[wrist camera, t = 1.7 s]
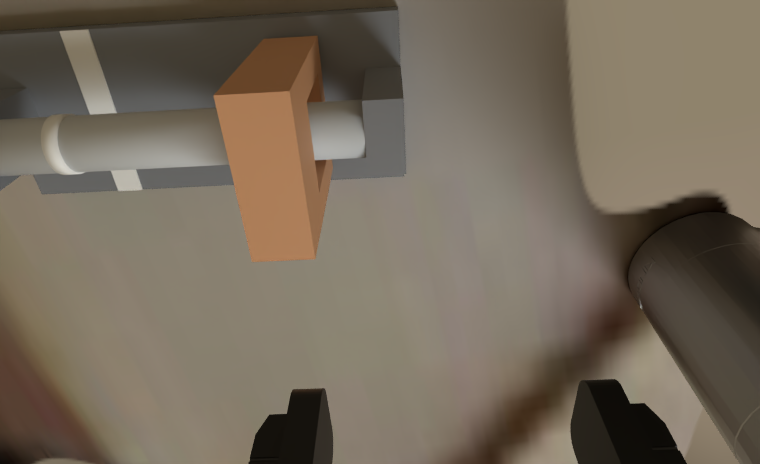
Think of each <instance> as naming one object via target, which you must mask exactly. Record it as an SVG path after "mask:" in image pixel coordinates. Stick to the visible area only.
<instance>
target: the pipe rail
mask: <svg viewBox="0 0 760 464" xmlns="http://www.w3.org/2000/svg"><path fill="white" fill-rule="evenodd" d="M303 36H318V44H319V53H320V61H321V70H322V78H323V87H324V95H325V102H308V103H307V107H308V115H309V122H310V129H311V137H312V144H313V151H314V159H315V160H330V159H332V164H333V170H332V175H331V180H340V179H360V178H380V177H400V176H404V174H406V156H405V127H404V99H403V88H402V78H401V68H400V43H399V16H398V7H381V8H365V9H349V10H333V11H317V12H300V13H284V14H268V15H252V16H236V17H219V18H203V19H187V20H171V21H155V22H138V23H122V24H106V25H90V26H74V27H57V28H41V29H25V30H9V31H0V191H1V190H2V189H3V188H5V187H6V186H7V185H9V184H10V183H11V182H13V181H14V180H15V179H17V178H18V177H19V176H21V175H33V176H34V178H35V180H36V182H37V184H38V187H39V189H40V191H41V193H42V194H57V193H77V192H98V191H131V190H143V189H158V188H178V187H198V186H219V185H234V182H233V178H232V173H231V169H230V165H229V160H228V156H227V152H226V148H225V143H224V139H223V135H222V130H221V126H220V122H219V118H218V113H217V109H216V105H215V100H214V96H213V95H214V94H215V93H216V92H217V91H218V90H219V89H220V87H221V86H222V85H223V84H224V83H225V82H226V81H227V80H228V78H229V77H230V76H231V75H232V74H233V73H234V72H235V70H236V69H237V68H238V67H239V66H240V65H241V64H242V63H243V61H244V60H245V59H246V58H247V57H248V56H249V55H250V54H251V52H252V51H253V50H254V49H255V48H256V47H257V46H258V45H259V43H260V42H261V41H262V40H263V39H270V38H286V37H303Z"/></svg>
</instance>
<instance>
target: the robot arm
mask: <svg viewBox="0 0 760 464" xmlns="http://www.w3.org/2000/svg"><path fill="white" fill-rule="evenodd" d="M628 282H629V288H630V290H631V292H632V294H633V296H634V298H635V299H636V301H637V302H638V305H639V306H640V308H641V309H642V310H643V312H644V313H645V315H646V317H647V318H648V320H649V321H650V323H651V324H652V326H653V328H654V330H655V331H656V333H657V334H658V336H659V338H660V339H661V341H662V342H663V344H664V345H665V347H666V349H667V350H668V352H669V353H670V355H671V356H672V358H673V360H674V361H675V363H676V364H677V366H678V368H679V369H680V371H681V372H682V374H683V375H684V377H685V379H686V380H687V382H688V383H689V385H690V386H691V388H692V390H693V391H694V393H695V394H696V396H697V397H698V399H699V401H700V402H701V404H702V405H703V407H704V409H705V410H706V412H707V413H708V415H709V416H710V418H711V420H712V421H713V423H714V424H715V426H716V427H717V429H718V431H719V432H720V434H721V435H722V437H723V438H724V440H725V442H726V443H727V445H728V446H729V448H730V450H731V451H732V452H733V454H734V456H735V457H736V459H737V460H738V462H739V463H740V464H760V228H755V227H753V226H751V225H750V224H748V223H747V222H746V221H744V220H743V219H741V218H739V217H736V216H734V215H731V214H726V213H720V212H709V213H699V214H695V215H690V216H686V217H684V218H681V219H678V220H676V221H673V222H672V223H670V224H668V225H666V226H664V227H663V228H661V229H659V230H658V231H657V232H656V233H654V234H653V235H652V236H650V237H649V238H648V239H647V240H646V241H645V242H644V243H643V245H642V246H641V247H640V248H639V250H638V251H637V253H636V254H635V256H634V257H633V259H632V262H631V265H630V267H629V274H628ZM571 440H572V445H573V449H574V452H575V455H576V458H577V461H578V464H687V463H686V461H685V460H684V458H683V456H682V454H681V452H680V451H678V449H677V445H676V443H675V441H674V439H673V437H672V435H671V434H670V432H669V430H668V428H667V426H666V424H665V423H664V422H663V421H662V420H661V419H660V418H659V417H658V416H657V415H656V414H655V413H654V412H653V411H652V410H651V409H650V408H649V407H648V406H647V405H646V404H645V403H639V404H630V402H629V400H628V398H627V396H626V394H625V392H624V390H623V388H622V386H621V384H620V383H619V382H618V381H617V380H615V379H608V380H582V381H580V383H579V386H578V391H577V396H576V400H575V405H574V410H573V415H572V419H571ZM332 459H333V432H332V425H331V419H330V413H329V407H328V401H327V395H326V391H325V389H324V388H322V389H294V390H292V392H291V396H290V401H289V406H288V411H287V414H274V415H269V416H268V417H267V419H266V420H265V422H264V423H263V425H262V426H261V428H260V429H259V430H258V432H257V433H256V435H255V439H254V443H253V447H252V451H251V455H250V462H249V464H332Z"/></svg>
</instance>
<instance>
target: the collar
mask: <svg viewBox="0 0 760 464" xmlns="http://www.w3.org/2000/svg"><path fill="white" fill-rule="evenodd" d="M213 96H214V100H215V105H216V109H217V113H218V118H219V122H220V126H221V130H222V135H223V139H224V143H225V148H226V152H227V156H228V160H229V165H230V169H231V173H232V178H233V182H234V186H235V190H236V195H237V199H238V203H239V208H240V212H241V216H242V220H243V225H244V229H245V233H246V238H247V242H248V246H249V250H250V255H251V259H252V262H262V261H284V260H307V259H315V258H316V253H317V247H318V242H319V237H320V232H321V227H322V222H323V217H324V211H325V206H326V201H327V196H328V191H329V186H330V180H331V175H332V170H333V164H332V159H330V160H315V159H314V151H313V144H312V137H311V129H310V122H309V115H308V107H307V103H308V102H325V95H324V87H323V78H322V70H321V61H320V53H319V44H318V36H303V37H286V38H270V39H263V40H262V41H261V42H260V43H259V45H258V46H257V47H256V48H255V49H254V50H253V51H252V52H251V54H250V55H249V56H248V57H247V58H246V59H245V60H244V61H243V63H242V64H241V65H240V66H239V67H238V68H237V69H236V70H235V72H234V73H233V74H232V75H231V76H230V77H229V78H228V80H227V81H226V82H225V83H224V84H223V85H222V86H221V87H220V89H219V90H218V91H217V92H216V93H215V94H214V95H213Z"/></svg>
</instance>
